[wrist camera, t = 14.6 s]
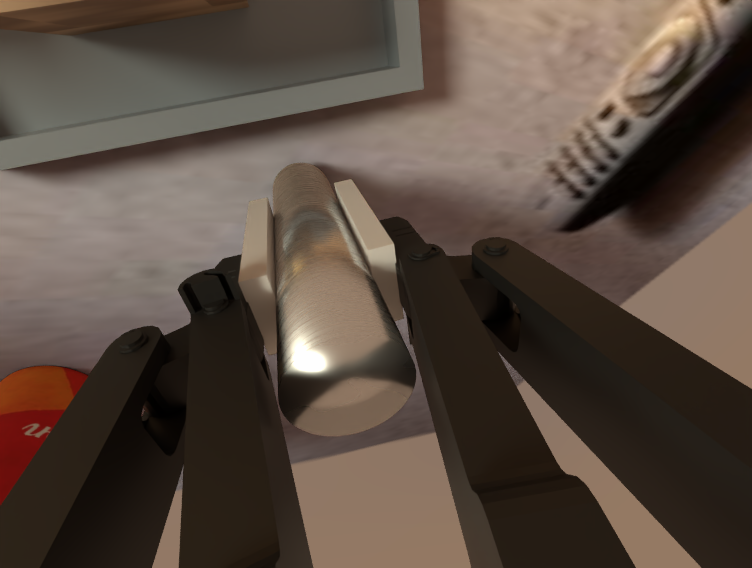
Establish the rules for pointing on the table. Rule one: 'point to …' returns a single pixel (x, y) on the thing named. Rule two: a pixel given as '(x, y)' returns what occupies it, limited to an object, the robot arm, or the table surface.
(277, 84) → the tray
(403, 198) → the table surface
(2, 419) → the coffee cup
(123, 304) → the table surface
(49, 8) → the bored block
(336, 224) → the pin
